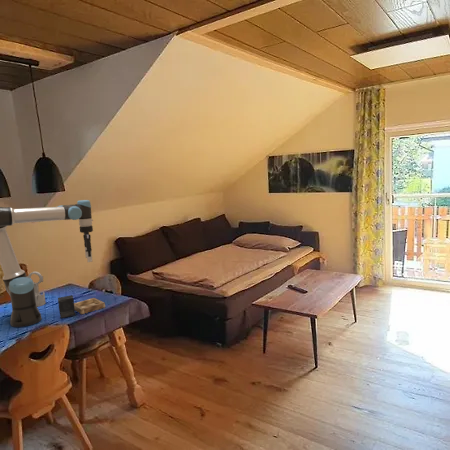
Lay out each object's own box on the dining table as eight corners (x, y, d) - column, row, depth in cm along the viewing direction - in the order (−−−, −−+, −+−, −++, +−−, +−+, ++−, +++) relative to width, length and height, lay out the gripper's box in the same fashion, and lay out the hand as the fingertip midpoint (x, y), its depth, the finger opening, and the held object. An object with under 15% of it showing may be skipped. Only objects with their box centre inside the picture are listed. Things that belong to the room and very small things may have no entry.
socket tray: (81, 314, 224) (81, 309, 224) (72, 308, 234) (71, 303, 234) (105, 307, 233) (104, 302, 233) (94, 302, 244) (94, 297, 243)
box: (74, 312, 228) (72, 294, 226) (75, 315, 223) (73, 297, 221) (59, 315, 225) (57, 297, 223) (60, 318, 220) (58, 300, 218)
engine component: (32, 302, 251) (24, 307, 241) (27, 270, 248) (20, 274, 238) (49, 301, 251) (43, 306, 241) (45, 269, 248) (38, 273, 238)
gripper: (94, 227, 235) (97, 262, 238) (90, 222, 258) (93, 255, 261) (80, 228, 232) (84, 264, 235) (78, 223, 255) (81, 256, 258)
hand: (88, 259), depth 248 cm, fingers open, 13 cm apart
